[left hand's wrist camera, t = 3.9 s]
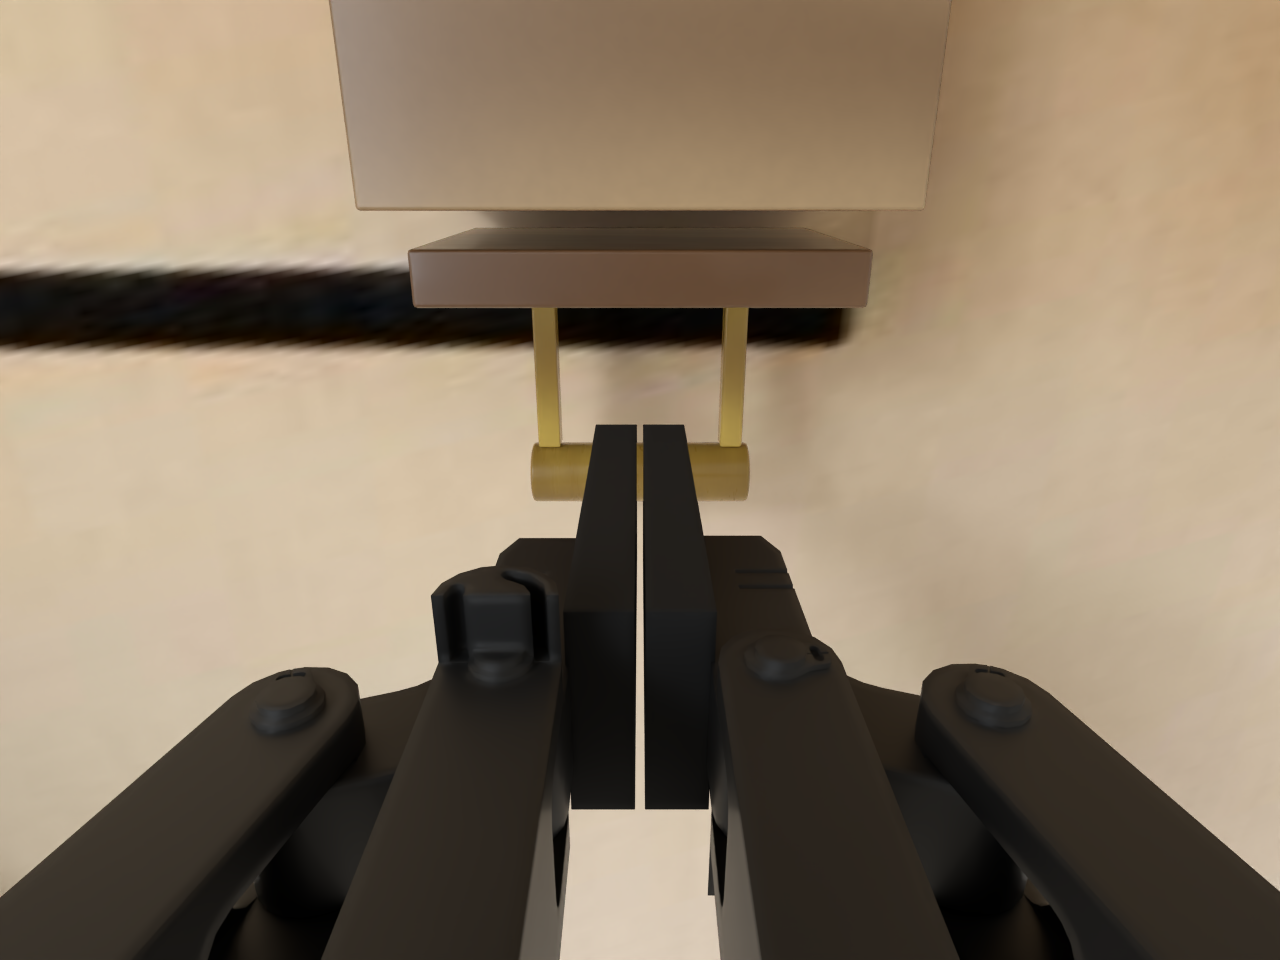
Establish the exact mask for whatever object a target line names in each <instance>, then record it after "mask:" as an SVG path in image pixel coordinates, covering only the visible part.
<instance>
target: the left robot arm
mask: <svg viewBox="0 0 1280 960" xmlns="http://www.w3.org/2000/svg"><path fill="white" fill-rule="evenodd" d="M431 601H432V609H433V618H434V627H435V635H436V644H437V652H438V661H439V663H438V666H437V668H436V671H435V673H434V676H433V678H432V680H429V681H427V682H425V683H423V684H420V685H418V686H415V687H411V688H408V689H404V690H400V691H396V692H392V693H387V694H382V695H377V696H372V697H367V698H363V699H360V695H359V689H358V685H357V684H356V682H355V681H354V680H353V679H352V678H351V677H350V676H349V675H348V674H346V673H343V672H340V671H337V670H334V669H331V668H318V667H304V668H297V669H293V670H286V671H282V672H278V673H276V674H273V675H271V676H268V677H266V678H263V679H261V680H258V681H256V682H253V683H252V684H250V685H249V686H247V687H246V688H244V689H243V690H241V691H240V692H238V693H237V694H235V695H234V696H232V697H231V698H230V699H229V700H228V701H226V702H225V703H224V704H223V705H222V706H221V707H219V708H218V709H217V710H216V711H215V712H214V713H213V714H211V715H210V716H209V717H208V718H207V719H206V720H204V721H203V722H202V723H201V724H200V725H199V726H198V727H196V728H195V729H194V730H193V731H192V732H191V733H189V734H188V735H187V736H186V737H185V738H184V739H183V740H181V741H180V742H179V743H178V744H177V745H176V746H174V747H173V748H172V749H171V750H170V751H169V752H168V753H166V754H165V755H164V756H163V757H162V758H161V759H160V760H158V761H157V762H156V763H155V764H154V765H153V766H151V767H150V768H149V769H148V770H147V771H146V772H145V773H143V774H142V775H141V776H140V777H139V778H138V779H136V780H135V781H134V782H133V783H132V784H131V785H130V786H128V787H127V788H126V789H125V790H124V791H123V792H121V793H120V794H119V795H118V796H117V797H116V798H115V799H113V800H112V801H111V802H110V803H109V804H108V805H107V806H105V807H104V808H103V809H102V810H101V811H100V812H98V813H97V814H96V815H95V816H94V817H93V818H92V819H90V820H89V821H88V822H87V823H86V824H85V825H83V826H82V827H81V828H80V829H79V830H78V831H77V832H75V833H74V834H73V835H72V836H71V837H70V838H68V839H67V840H66V841H65V842H64V843H63V844H62V845H60V846H59V847H58V848H57V849H56V850H55V851H54V852H52V853H51V854H50V855H49V856H48V857H47V858H45V859H44V860H43V861H42V862H41V863H40V864H39V865H37V866H36V867H35V868H34V869H33V870H32V871H30V872H29V873H28V874H27V875H26V876H25V877H24V878H22V879H21V880H20V881H19V882H18V883H17V884H15V885H14V886H13V887H12V888H11V889H10V890H9V891H7V892H6V893H5V894H4V895H3V896H2V897H0V960H559V959H560V948H561V937H562V926H563V916H564V905H565V894H566V883H567V872H568V862H569V851H570V837H569V815H568V811H569V802H570V793H571V809H635V735H636V610H637V425H596V428H595V433H594V439H593V445H592V450H591V456H590V462H589V467H588V473H587V479H586V484H585V490H584V496H583V501H582V507H581V513H580V518H579V524H578V530H577V535H576V538H519V539H518V540H517V541H515V542H514V543H513V544H512V545H510V546H509V547H508V548H507V549H505V550H504V551H503V552H502V553H500V555H499V558H498V560H497V563H496V566H491V567H481V568H477V569H474V570H470V571H467V572H463V573H460V574H458V575H456V576H454V577H452V578H451V579H449V580H447V581H445V582H443V583H442V584H441V585H440V586H439V587H438V588H437V589H436V590H435V592H434V593H433V594H432V595H431ZM643 609H644V733H645V809H709V789H710V798H711V807H712V815H711V837H710V859H709V881H708V895H715V904H716V915H717V925H718V936H719V947H720V958H721V960H1280V891H1278V890H1277V889H1276V888H1275V887H1274V886H1273V885H1271V884H1270V883H1269V882H1268V881H1267V880H1266V879H1264V878H1263V877H1262V876H1261V875H1260V874H1259V873H1257V872H1256V871H1255V870H1254V869H1253V868H1252V867H1250V866H1249V865H1248V864H1247V863H1246V862H1245V861H1244V860H1242V859H1241V858H1240V857H1239V856H1238V855H1237V854H1235V853H1234V852H1233V851H1232V850H1231V849H1230V848H1228V847H1227V846H1226V845H1225V844H1224V843H1223V842H1221V841H1220V840H1219V839H1218V838H1217V837H1216V836H1214V835H1213V834H1212V833H1211V832H1210V831H1209V830H1207V829H1206V828H1205V827H1204V826H1203V825H1202V824H1201V823H1199V822H1198V821H1197V820H1196V819H1195V818H1194V817H1192V816H1191V815H1190V814H1189V813H1188V812H1187V811H1185V810H1184V809H1183V808H1182V807H1181V806H1180V805H1178V804H1177V803H1176V802H1175V801H1174V800H1173V799H1171V798H1170V797H1169V796H1168V795H1167V794H1166V793H1165V792H1163V791H1162V790H1161V789H1160V788H1159V787H1158V786H1156V785H1155V784H1154V783H1153V782H1152V781H1151V780H1149V779H1148V778H1147V777H1146V776H1145V775H1144V774H1142V773H1141V772H1140V771H1139V770H1138V769H1137V768H1135V767H1134V766H1133V765H1132V764H1131V763H1130V762H1128V761H1127V760H1126V759H1125V758H1124V757H1123V756H1122V755H1120V754H1119V753H1118V752H1117V751H1116V750H1115V749H1113V748H1112V747H1111V746H1110V745H1109V744H1108V743H1106V742H1105V741H1104V740H1103V739H1102V738H1101V737H1099V736H1098V735H1097V734H1096V733H1095V732H1094V731H1092V730H1091V729H1090V728H1089V727H1088V726H1087V725H1085V724H1084V723H1083V722H1082V721H1081V720H1080V719H1079V718H1077V717H1076V716H1075V715H1074V714H1073V713H1072V712H1070V711H1069V710H1068V709H1067V708H1066V707H1065V706H1063V705H1062V704H1061V703H1060V702H1059V701H1058V700H1056V699H1055V698H1054V697H1053V696H1052V695H1051V694H1049V693H1048V692H1046V691H1045V690H1043V689H1042V688H1040V687H1039V686H1037V685H1036V684H1034V683H1033V682H1031V681H1030V680H1028V679H1026V678H1024V677H1021V676H1019V675H1016V674H1014V673H1011V672H1009V671H1006V670H1004V669H1001V668H997V667H993V666H987V665H979V664H951V665H948V666H945V667H942V668H939V669H936V670H933V671H932V672H931V673H930V674H929V675H928V676H927V677H926V679H925V680H924V681H923V683H922V689H921V696H919V695H914V694H909V693H905V692H900V691H895V690H890V689H885V688H881V687H877V686H874V685H870V684H866V683H863V682H861V681H858V680H856V679H854V678H851V677H849V676H847V675H846V672H845V670H844V667H843V665H842V662H841V661H840V659H839V658H838V656H837V655H836V654H835V652H834V651H833V650H832V648H830V647H829V646H827V645H826V644H824V643H823V642H821V641H820V640H818V639H816V638H815V637H812V635H811V632H810V630H809V627H808V624H807V622H806V619H805V616H804V614H803V611H802V608H801V606H800V603H799V600H798V598H797V595H796V592H795V589H793V584H792V581H791V579H790V576H789V573H787V568H786V565H785V563H784V560H783V557H782V555H781V552H780V551H779V550H778V549H777V548H775V547H774V546H773V545H772V544H770V543H769V542H768V541H767V540H765V539H764V538H763V537H762V536H704V535H703V530H702V524H701V518H700V513H699V507H698V501H697V496H696V490H695V484H694V479H693V473H692V467H691V462H690V456H689V450H688V445H687V439H686V433H685V428H684V425H643Z"/></svg>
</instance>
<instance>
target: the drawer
mask: <svg viewBox="0 0 1280 960" xmlns="http://www.w3.org/2000/svg"><path fill="white" fill-rule="evenodd" d="M872 256H873V253H872V250H870V249H867V248H864V247H861V246H858V245H855V244H852V243H849V242H846V241H843V240H840V239H836V238H833V237H830V236H827V235H824V234H821V233H818V232H815V231H812V230H809V229H806V228H474V229H471V230H468V231H465V232H462V233H459V234H456V235H453V236H450V237H447V238H444V239H441V240H438V241H435V242H432V243H429V244H426V245H423V246H420V247H417V248H414V249H411V250H409V251H408V261H409V270H410V279H411V288H412V297H413V304H414V306H415V307H417V308H532V321H533V340H534V359H535V378H536V398H537V417H538V436H539V443H535V444H534V446H533V449H532V455H531V488H532V494H533V498H534V500H536V501H583V496H584V490H585V484H586V479H587V473H588V467H589V462H590V456H591V450H592V445H593V443H562V418H561V393H560V368H559V343H558V318H557V308H723V329H722V354H721V379H720V404H719V429H718V441H719V443H687V445H688V450H689V456H690V462H691V467H692V473H693V479H694V484H695V490H696V496H697V501H745V500H746V499H747V496H748V491H749V479H750V464H749V452H748V448H747V445H746V443H741V442H742V423H743V403H744V384H745V365H746V346H747V327H748V308H863V307H866V305H867V302H868V293H869V284H870V274H871V265H872ZM637 501H643V443H637Z"/></svg>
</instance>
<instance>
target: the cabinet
mask: <svg viewBox="0 0 1280 960" xmlns="http://www.w3.org/2000/svg"><path fill="white" fill-rule="evenodd" d="M951 1H952V0H329V5H330V12H331V20H332V28H333V35H334V43H335V51H336V58H337V66H338V74H339V81H340V89H341V97H342V104H343V112H344V120H345V127H346V135H347V143H348V150H349V158H350V166H351V173H352V181H353V189H354V196H355V204H356V208H357V209H358V210H360V211H560V210H923V209H924V207H925V201H926V193H927V185H928V178H929V170H930V162H931V155H932V147H933V139H934V132H935V124H936V116H937V109H938V101H939V93H940V86H941V78H942V70H943V63H944V55H945V47H946V40H947V32H948V24H949V17H950V9H951Z"/></svg>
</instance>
